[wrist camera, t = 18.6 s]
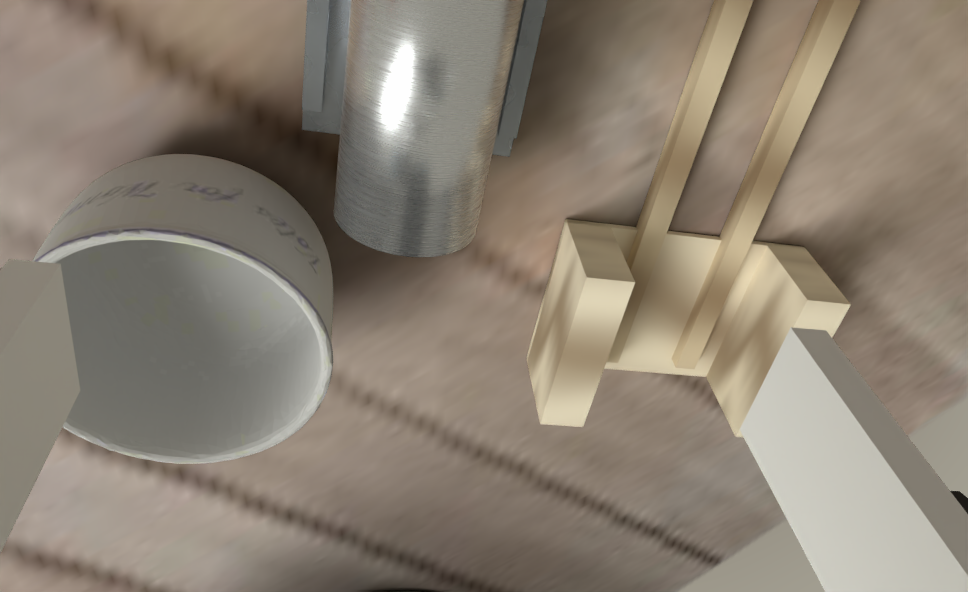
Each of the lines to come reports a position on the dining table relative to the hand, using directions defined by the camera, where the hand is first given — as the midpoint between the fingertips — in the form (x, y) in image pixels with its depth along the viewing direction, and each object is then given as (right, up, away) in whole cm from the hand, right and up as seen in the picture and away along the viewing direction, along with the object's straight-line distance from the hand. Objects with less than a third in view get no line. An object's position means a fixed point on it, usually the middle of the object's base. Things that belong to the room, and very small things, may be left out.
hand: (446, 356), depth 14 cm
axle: (-1, +10, +12) cm, 15 cm away
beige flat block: (+10, +6, +18) cm, 22 cm away
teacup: (-12, +4, +18) cm, 22 cm away
